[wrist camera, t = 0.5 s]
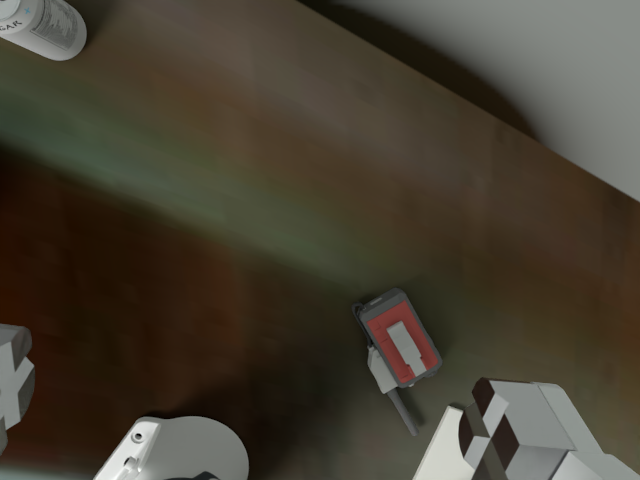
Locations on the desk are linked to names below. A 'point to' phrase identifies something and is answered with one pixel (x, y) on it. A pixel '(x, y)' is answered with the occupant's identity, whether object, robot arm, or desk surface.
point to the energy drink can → (43, 27)
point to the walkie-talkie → (397, 346)
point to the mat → (445, 452)
